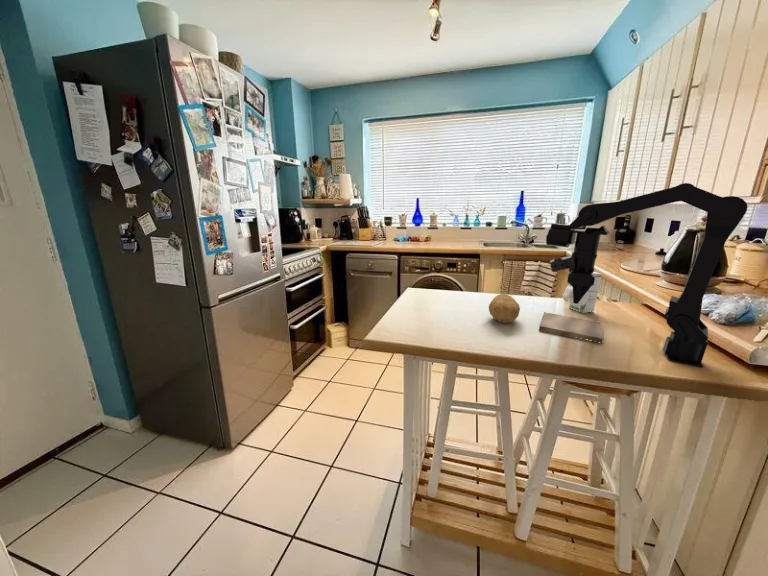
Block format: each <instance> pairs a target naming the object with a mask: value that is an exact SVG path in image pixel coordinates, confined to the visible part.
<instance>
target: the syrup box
mask: <svg viewBox="0 0 768 576" xmlns="http://www.w3.org/2000/svg"><path fill="white" fill-rule="evenodd" d="M592 274H593V275H594V276H595V281H594V285H592V286H591V287H590V288H589V290H588V291H587V292H588V293H589V298H588V300H587V302H586V303H585V305H580V303H579V304H578V305H573V303H570V302H569V306H568V309H569V308H571V309H570V310H572V309H573V310H572V311H574V310H576V311H575V312H577V311H579V312H581V313H583V314H585V313H584V312H590V311H594V312H595V307H596V303H597V299H598V294H599V290H600V285H601V281H602V278H603V273H599V272H596V271H594V272H593V273H592ZM579 312H578V313H579ZM581 313H580V314H581Z"/></svg>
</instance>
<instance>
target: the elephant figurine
mask: <svg viewBox="0 0 768 576" xmlns="http://www.w3.org/2000/svg"><path fill="white" fill-rule="evenodd" d="M561 298H563V301H564V302H569V304H570V303H573V287H572V286H571V285H570V284H569V283H568V285H567V286H566V288H565V290H564V293H563V295H562V296H561ZM588 298H589V293H588V292H586V294H585V295H584V296H583V297H582V299H581V300H580V301H579V303H580V305H585V303H586V302H587V300H588ZM579 303H578V304H579ZM578 304H575V303H573V305H578Z"/></svg>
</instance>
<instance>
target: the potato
mask: <svg viewBox="0 0 768 576" xmlns="http://www.w3.org/2000/svg"><path fill="white" fill-rule="evenodd" d="M520 309H521V307H520V304H519V302H517V300H516V299H515V298H514V297H512V296H511V295H509V294H506V293H500V294H497V295H495V296H494V297H493V299H492V300H491V301H490V303H488V311H489V314H490V315H491V316H492V317H493V318H494V319H495V320H496V321H498V322H501V323H503V324H509V323H512V322H514V321H515V320H516V319H517V318H519V315H520V311H521V310H520Z"/></svg>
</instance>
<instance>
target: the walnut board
mask: <svg viewBox="0 0 768 576" xmlns="http://www.w3.org/2000/svg"><path fill="white" fill-rule="evenodd" d="M539 330H540V331H541V332H544V331H545V332H544V333H549V332H550V333H549V334H554V335H558V334H560V335H559V336H563V335H566V336H565V337H568V336H571V337H570V338H573V337H577V338H576V339H578V338H582V339H588V340H592V341H596V342H595V343H597V342H600V343H599V344H602V343H603V340H604V337H603V331H602V324H601V322H600V321H595V320H589V319H585V318H580V317H579V318H578V317H575V316H574V317H572V316H567V315H562V314H557V313H551V312H546V311H545V312H543V315H542V317H541V321H540V323H539V327H538V331H539ZM582 339H581V340H582ZM592 341H591V342H592Z"/></svg>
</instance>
